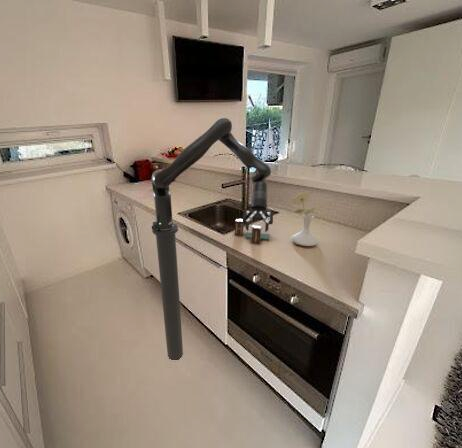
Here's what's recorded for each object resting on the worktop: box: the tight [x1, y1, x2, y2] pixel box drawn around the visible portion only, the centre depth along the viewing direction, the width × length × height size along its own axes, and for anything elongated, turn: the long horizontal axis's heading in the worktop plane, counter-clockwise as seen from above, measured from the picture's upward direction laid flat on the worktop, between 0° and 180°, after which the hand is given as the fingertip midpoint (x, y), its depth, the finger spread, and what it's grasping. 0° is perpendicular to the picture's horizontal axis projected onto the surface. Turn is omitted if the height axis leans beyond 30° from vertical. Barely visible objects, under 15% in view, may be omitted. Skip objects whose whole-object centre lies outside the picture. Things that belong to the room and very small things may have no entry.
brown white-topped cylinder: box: [250, 225, 262, 245], centre depth 118 cm, size 4×4×8 cm
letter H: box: [234, 218, 245, 237], centre depth 128 cm, size 4×4×8 cm
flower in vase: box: [291, 191, 319, 247], centre depth 112 cm, size 13×11×25 cm
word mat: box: [245, 232, 270, 241], centre depth 125 cm, size 11×6×1 cm, turn 73°
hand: (256, 230), depth 118 cm, fingers open, 8 cm apart
